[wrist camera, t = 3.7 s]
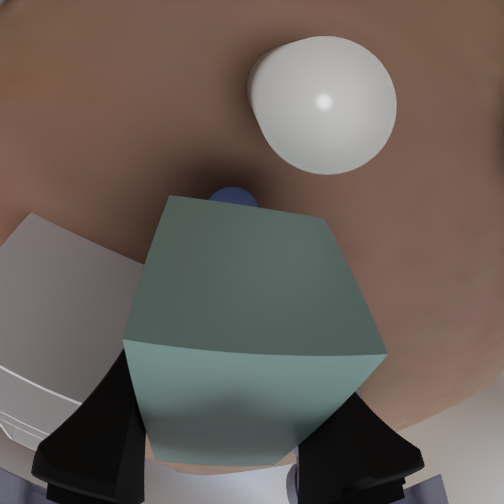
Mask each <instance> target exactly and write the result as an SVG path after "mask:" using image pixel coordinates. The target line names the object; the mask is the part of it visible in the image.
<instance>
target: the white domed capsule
mask: <svg viewBox="0 0 504 504" xmlns="http://www.w3.org/2000/svg"><path fill="white" fill-rule="evenodd" d="M247 97H248V101H249V104H250V106H251V108H252V110H253V113H254V115H255V117H256V119H257V121H258V124H259V126H260V128H261V130H262V133H263V135H264V137H265V138H266V140H267V142H268V143H269V145H270V146H271V147H272V149H273V150H274V151H275V152H276V153H277V154H278V155H279V156H280V157H281V158H282V159H284V160H285V161H286V162H288V163H289V164H291V165H293V166H294V167H296V168H299V169H301V170H304V171H307V172H310V173H315V174H327V175H330V174H339V173H344V172H348V171H351V170H354V169H356V168H358V167H360V166H362V165H363V164H365V163H367V162H368V161H369V160H371V159H372V158H373V157H374V156H375V155H376V154H377V153H378V152H379V151H380V150H381V149H382V148H383V146H384V145H385V143H386V142H387V140H388V138H389V136H390V134H391V132H392V129H393V126H394V123H395V118H396V106H397V103H396V94H395V90H394V86H393V83H392V81H391V78H390V76H389V74H388V72H387V71H386V69H385V68H384V66H383V65H382V63H381V62H380V61H379V60H378V59H377V58H376V57H375V56H374V55H373V54H372V53H371V52H369V51H368V50H367V49H365V48H364V47H362V46H361V45H359V44H357V43H354V42H352V41H350V40H347V39H343V38H339V37H333V36H318V37H311V38H307V39H303V40H299V41H295V42H292V43H288V44H285V45H281V46H278V47H275V48H273V49H271V50H269V51H267V52H266V53H264V54H263V55H262V56H261V57H259V58H258V60H257V61H256V62H255V63H254V65H253V66H252V68H251V70H250V72H249V75H248V79H247Z"/></svg>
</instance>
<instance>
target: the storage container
mask: <svg viewBox="0 0 504 504" xmlns="http://www.w3.org/2000/svg"><path fill="white" fill-rule="evenodd" d="M143 268H144V265H143V264H141V263H139V262H136V261H134V260H132V259H130V258H127V257H125V256H123V255H120V254H118V253H116V252H114V251H111V250H109V249H107V248H105V247H102V246H100V245H98V244H96V243H94V242H91V241H89V240H87V239H85V238H83V237H81V236H79V235H76V234H74V233H72V232H70V231H68V230H66V229H64V228H62V227H60V226H58V225H55V224H53V223H51V222H49V221H47V220H45V219H43V218H41V217H39V216H37V215H35V214H33V213H30V214H29V215H28V216H27V217H26V218H25V219H24V220H23V221H22V222H21V224H20V225H19V226H18V227H17V228H16V229H15V230H14V232H13V233H12V234H11V235H10V236H9V237H8V239H7V240H6V241H5V242H4V244H3V245H2V246H1V247H0V426H1V427H2V429H3V430H4V431H5V432H6V434H7V435H8V437H9V438H10V439H12V440H14V441H16V442H18V443H20V444H22V445H24V446H26V447H28V448H31V449H33V450H35V451H36V450H37V447H38V445H39V443H40V442H41V441H43V440H44V439H45V438H46V437H47V436H49V435H50V434H51V433H52V432H53V431H55V430H56V429H57V428H58V427H59V426H60V425H61V424H62V423H63V422H65V421H66V420H67V419H68V418H69V417H70V416H71V415H72V414H73V413H74V412H75V411H76V410H77V409H78V408H79V407H80V405H81V404H82V403H83V402H84V401H85V400H86V399H87V398H88V396H89V395H90V394H91V393H92V392H93V391H94V389H95V388H96V387H97V386H98V384H99V383H100V382H101V380H102V379H103V378H104V376H105V375H106V374H107V372H108V371H109V369H110V368H111V366H112V365H113V364H114V362H115V361H116V359H117V358H118V356H119V354H120V353H121V351H122V350H123V348H124V344H123V336H124V332H125V328H126V324H127V321H128V317H129V314H130V310H131V307H132V303H133V300H134V296H135V293H136V290H137V286H138V283H139V280H140V277H141V274H142V271H143Z"/></svg>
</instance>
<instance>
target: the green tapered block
mask: <svg viewBox="0 0 504 504" xmlns="http://www.w3.org/2000/svg"><path fill="white" fill-rule="evenodd" d="M123 344H124V349H125V353H126V358H127V363H128V367H129V371H130V376H131V380H132V384H133V388H134V391H135V395H136V399H137V403H138V406H139V410H140V413H141V417H142V420H143V423H144V426H145V430H146V433H147V436H148V439H149V442H150V445H151V448H152V451H153V454H154V456H155V459H156V460H158V461H166V462H174V463H184V464H197V465H216V466H263V465H274V464H276V463H277V462H278V461H279V460H281V459H282V458H283V457H284V456H286V455H287V454H288V453H289V452H291V451H292V450H293V449H294V448H295V447H297V446H298V445H299V444H300V443H301V442H302V441H304V440H305V439H306V438H307V437H308V436H309V435H310V434H311V433H313V432H314V431H315V430H316V429H317V428H318V427H319V426H320V425H321V424H322V423H324V422H325V421H326V420H327V419H328V418H329V417H330V416H331V415H332V414H333V413H334V412H335V411H336V410H337V409H338V408H339V407H340V406H341V405H342V404H343V403H344V402H345V401H346V400H347V399H348V398H349V397H350V396H351V395H352V394H353V393H354V392H355V391H356V390H357V389H358V388H359V386H360V385H361V384H362V383H363V382H364V381H365V380H366V379H367V378H368V377H369V376H370V374H371V373H372V372H373V371H374V370H375V369H376V368H377V366H378V365H379V364H380V363H381V362H382V361H383V359H384V358H385V357H386V356H387V355H388V353H387V350H386V348H385V346H384V343H383V341H382V338H381V336H380V334H379V331H378V329H377V327H376V324H375V322H374V320H373V317H372V315H371V313H370V311H369V308H368V306H367V304H366V302H365V300H364V297H363V295H362V293H361V291H360V289H359V287H358V285H357V282H356V280H355V278H354V276H353V274H352V272H351V270H350V268H349V266H348V264H347V262H346V260H345V258H344V256H343V254H342V252H341V250H340V248H339V246H338V244H337V242H336V240H335V238H334V236H333V234H332V232H331V230H330V228H329V226H328V224H327V222H326V220H325V219H324V218H319V217H313V216H308V215H302V214H296V213H290V212H284V211H278V210H272V209H265V208H259V207H252V206H246V205H239V204H232V203H225V202H218V201H211V200H203V199H196V198H188V197H180V196H172V195H169V198H168V200H167V203H166V205H165V208H164V211H163V213H162V216H161V219H160V221H159V224H158V227H157V230H156V232H155V235H154V238H153V241H152V244H151V247H150V250H149V252H148V255H147V258H146V261H145V264H144V268H143V271H142V274H141V277H140V280H139V283H138V286H137V290H136V293H135V296H134V300H133V303H132V307H131V310H130V314H129V317H128V321H127V324H126V328H125V332H124V336H123Z"/></svg>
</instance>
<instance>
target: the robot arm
mask: <svg viewBox="0 0 504 504" xmlns="http://www.w3.org/2000/svg"><path fill="white" fill-rule="evenodd" d="M145 440H146V430H145V426H144V423H143V420H142V417H141V413H140V410H139V406H138V403H137V399H136V395H135V391H134V388H133V384H132V380H131V376H130V371H129V367H128V363H127V358H126V353H125V349H124V348H123V350H122V351H121V353H120V354H119V356H118V358H117V359H116V361H115V362H114V364H113V365H112V366H111V368H110V369H109V371H108V372H107V374H106V375H105V376H104V378H103V379H102V380H101V382H100V383H99V384H98V386H97V387H96V388H95V389H94V391H93V392H92V393H91V394H90V395H89V396H88V398H87V399H86V400H85V401H84V402H83V403H82V404H81V405H80V407H79V408H78V409H77V410H76V411H75V412H74V413H73V414H72V415H71V416H70V417H69V418H68V419H67V420H66V421H65V422H63V423H62V424H61V425H60V426H59V427H58V428H57V429H56V430H55V431H53V432H52V433H51V434H50V435H49V436H47V437H46V438H45V439H44V440H43V441H41V442H40V443H39V445H38V447H37V450H36V453H35V456H34V460H33V465H32V471H31V473H32V475H33V476H34V477H36V478H38V479H40V480H43V481H45V482H47V483H48V486H47V489H46V488H43V487H41V486H38V485H36V484H34V483H31V482H30V481H28V480H25V479H23V478H21V477H19V476H17V475H15V474H13V473H10V472H8V471H6V470H4V469H3V468H0V504H141V503H142V502H143V501H144V461H145ZM292 451H293V452H294V453H295V454H296V455H297V457H296V460H297V463H296V464H294V465H293V466H292V467H291V469H290V471H289V472H288V475H287V480H286V488H287V495H288V500H289V503H290V504H448V500H447V496H446V492H445V488H444V484H443V480H442V477H441V475H440V474H439V475H437V476H435V477H432V478H430V479H428V480H425V481H423V482H421V483H419V484H416V485H414V486H412V487H409V488H406V489H404V490H403V487H402V485H403V484H405V478H404V477H406V476H408V475H411V474H413V473H415V472H417V471H419V470H421V469H422V468H423V467H424V466H425V465H424V461H423V458H422V455H421V452H420V449H418V448H417V447H415V446H414V445H412V444H411V443H409V442H408V441H407V440H405V439H404V438H402V437H401V436H400V435H398V434H397V433H396V432H395V431H393V430H392V429H391V428H390V427H389V426H388V425H387V424H385V423H384V422H383V421H382V420H381V419H380V418H379V417H378V416H377V415H376V414H375V413H374V412H373V411H372V410H371V409H370V408H369V407H368V406H367V405H366V404H365V402H364V401H363V398H362V395H361V392H360V388H358V389H357V390H356V391H355V392H354V393H353V394H352V395H351V396H350V397H349V398H348V399H347V400H346V401H345V402H344V403H343V404H342V405H341V406H340V407H339V408H338V409H337V410H336V411H335V412H334V413H333V414H332V415H331V416H330V417H329V418H328V419H327V420H326V421H325V422H324V423H322V424H321V425H320V426H319V427H318V428H317V429H316V430H315V431H314V432H313V433H311V434H310V435H309V436H308V437H307V438H306V439H305V440H304V441H302V442H301V443H300V444H299V445H298V446H297V447H295V448H294V449H293V450H292Z"/></svg>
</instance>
